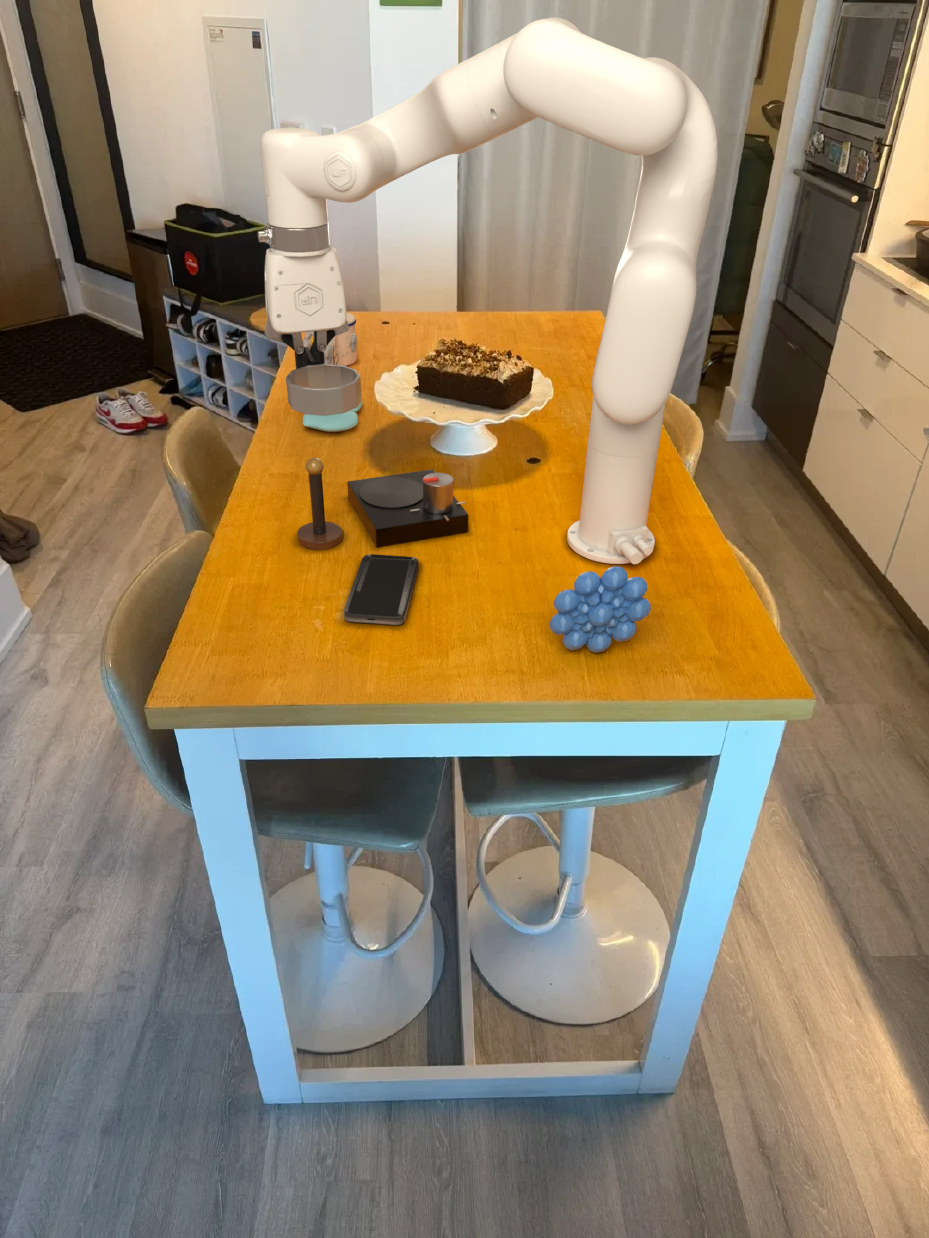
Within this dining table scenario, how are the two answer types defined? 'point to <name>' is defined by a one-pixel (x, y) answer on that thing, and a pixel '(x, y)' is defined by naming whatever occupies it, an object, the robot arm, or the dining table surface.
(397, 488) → the burner
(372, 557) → the phone
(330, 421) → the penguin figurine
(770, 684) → the dining table surface
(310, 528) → the peg stand
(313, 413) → the egg ring
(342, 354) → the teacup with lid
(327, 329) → the robot arm
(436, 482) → the hotplate knob
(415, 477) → the hotplate
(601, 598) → the blue knobbed flower shape
